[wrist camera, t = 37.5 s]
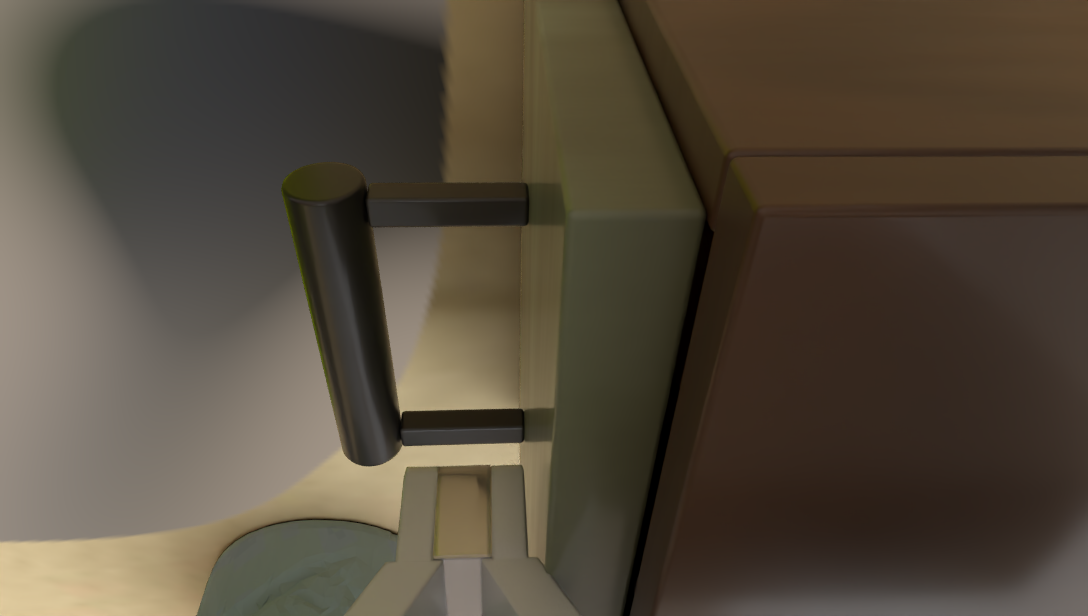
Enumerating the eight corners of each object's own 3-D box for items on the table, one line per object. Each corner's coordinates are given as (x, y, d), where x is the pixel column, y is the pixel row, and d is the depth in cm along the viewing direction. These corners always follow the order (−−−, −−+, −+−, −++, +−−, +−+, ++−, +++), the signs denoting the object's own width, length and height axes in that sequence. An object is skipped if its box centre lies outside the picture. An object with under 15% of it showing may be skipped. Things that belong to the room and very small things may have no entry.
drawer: (374, 438, 21) (320, 786, 14) (278, -69, 12) (29, 216, 6) (991, 421, 22) (1207, 736, 16) (1299, -51, 14) (2090, 203, 7)
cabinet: (556, 423, 22) (594, 833, 14) (590, -114, 13) (757, 209, 5) (1036, 410, 23) (1323, 787, 15) (1392, -95, 14) (2622, 198, 6)
